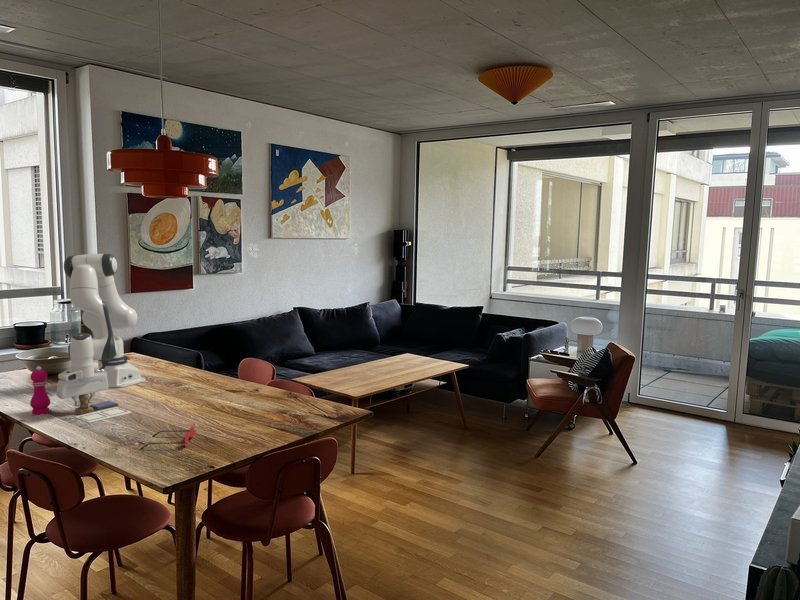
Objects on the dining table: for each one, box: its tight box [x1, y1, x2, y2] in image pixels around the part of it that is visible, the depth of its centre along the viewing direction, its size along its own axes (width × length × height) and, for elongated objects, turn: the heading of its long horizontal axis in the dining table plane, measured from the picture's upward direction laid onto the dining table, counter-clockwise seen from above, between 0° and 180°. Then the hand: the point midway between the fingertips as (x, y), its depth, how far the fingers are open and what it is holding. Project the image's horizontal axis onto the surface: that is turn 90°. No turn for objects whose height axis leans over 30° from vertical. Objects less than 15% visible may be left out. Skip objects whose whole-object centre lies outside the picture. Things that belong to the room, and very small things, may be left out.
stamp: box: [74, 394, 94, 415], centre depth 255 cm, size 5×5×8 cm
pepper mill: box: [29, 365, 51, 416], centre depth 251 cm, size 7×7×20 cm
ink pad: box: [88, 400, 119, 411], centre depth 263 cm, size 9×7×1 cm
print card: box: [74, 406, 133, 424], centre depth 252 cm, size 18×12×1 cm, turn 144°
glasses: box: [139, 425, 197, 450], centre depth 222 cm, size 14×16×5 cm
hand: (83, 404), depth 255 cm, fingers open, 4 cm apart
